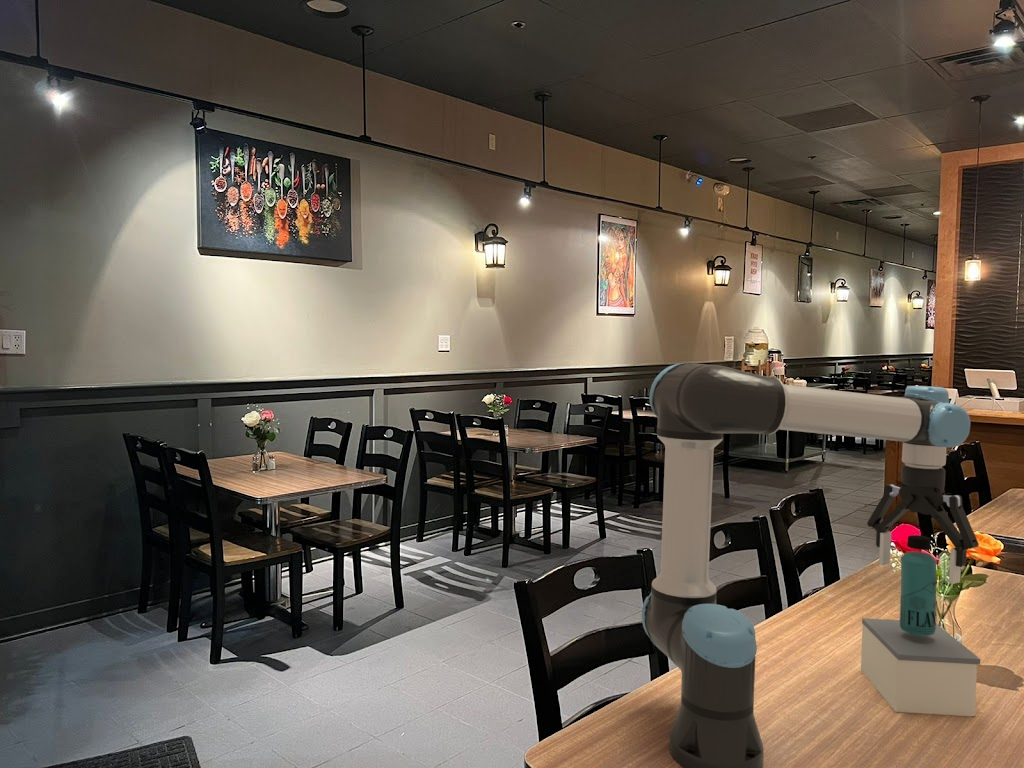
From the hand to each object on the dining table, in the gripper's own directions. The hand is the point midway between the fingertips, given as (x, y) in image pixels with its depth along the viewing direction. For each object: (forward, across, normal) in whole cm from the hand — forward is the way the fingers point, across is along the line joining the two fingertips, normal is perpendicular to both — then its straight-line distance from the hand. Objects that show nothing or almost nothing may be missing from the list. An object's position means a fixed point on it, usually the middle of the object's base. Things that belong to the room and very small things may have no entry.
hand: (918, 573), depth 146 cm
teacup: (+24, +5, -20) cm, 32 cm away
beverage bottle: (+13, 0, 0) cm, 13 cm away
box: (+24, 0, 0) cm, 24 cm away
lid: (+14, 0, 0) cm, 14 cm away
